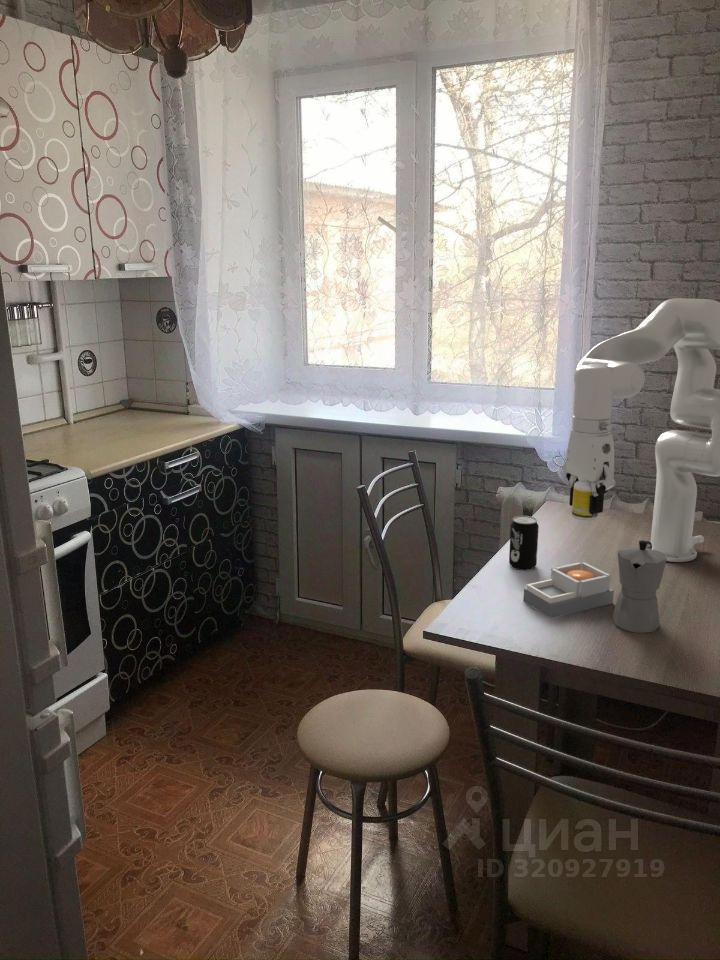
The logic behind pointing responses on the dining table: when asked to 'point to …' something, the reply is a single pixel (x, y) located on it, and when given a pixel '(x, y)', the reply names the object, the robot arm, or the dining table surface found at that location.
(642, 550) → the coffeepot
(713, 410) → the robot arm
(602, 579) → the grey divided storage tray
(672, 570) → the dining table surface
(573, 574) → the orange rounded capsule
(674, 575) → the dining table surface
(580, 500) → the supplement bottle
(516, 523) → the beverage can
